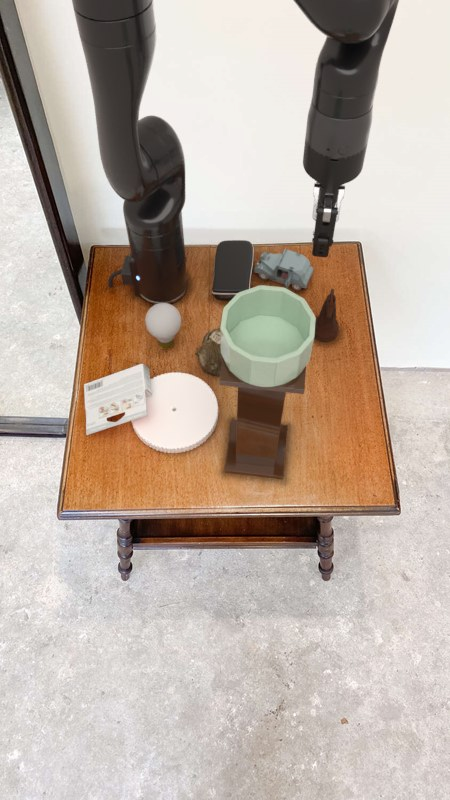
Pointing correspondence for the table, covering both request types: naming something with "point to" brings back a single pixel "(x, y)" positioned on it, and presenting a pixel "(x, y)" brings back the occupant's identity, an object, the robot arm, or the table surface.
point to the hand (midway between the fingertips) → (322, 232)
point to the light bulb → (163, 323)
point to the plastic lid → (177, 413)
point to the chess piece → (327, 320)
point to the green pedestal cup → (263, 373)
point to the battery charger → (232, 268)
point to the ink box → (117, 398)
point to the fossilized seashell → (211, 353)
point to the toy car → (285, 269)
